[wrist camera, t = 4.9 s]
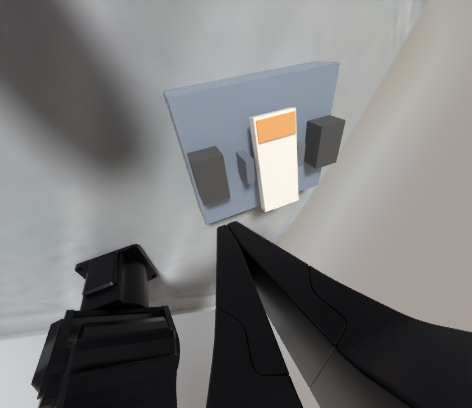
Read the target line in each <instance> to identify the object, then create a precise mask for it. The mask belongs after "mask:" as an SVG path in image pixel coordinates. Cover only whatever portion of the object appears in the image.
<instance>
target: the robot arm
mask: <svg viewBox="0 0 472 408" xmlns="http://www.w3.org/2000/svg"><path fill="white" fill-rule="evenodd" d="M75 271H76V272H77V273H79V274H80V275H81V276H82V277H83V278H84V279H85V284H84V289H83V293H82V295H83V299H82V304H81V308H80V311H74V310H67V311H66V314H65V317H64V319H60V320H59V321H57V322H55V323H52V324H51V326H50V329H49V332H48V336H47V339H46V342H45V345H44V348H43V351H42V354H41V357H40V359H39V362H38V365H37V368H36V371H35V374H34V377H33V380H32V383H31V385H32V386H33V387H34V388H35V389H36V390H37V391H38V397H37V399H40V402H39V406H38V408H177V397H176V376H177V369H178V364H179V358H180V343H179V338H178V334H177V331H176V328H175V325H174V323H173V319H172V317H171V314H170V311H169V308H168V306H162V307H149V306H148V281H149V280H152V279H154V278H156V277H157V272H156V270H155V269H154V267H153V266H152V264H151V263H150V261H149V260H148V258H147V257H146V255H145V254H144V253H143V251H142V250H141V248H140V247H139V246H138V245H136V244H134V245H131V246H128V247H125V248H122V249H119V250H116V251H113V252H110V253H108V254H105V255H102V256H99V257H96V258H93V259H90V260H88V261H85V262H82V263H79V264H77V265H76V267H75ZM215 311H216V313H215V339H214V349H213V358H212V367H211V374H210V381H209V389H208V397H207V404H206V408H303V406H302V404H301V401H300V399H299V397H298V395H297V393H296V390H295V387H294V385H293V382H292V380H291V377H290V376H289V372H288V369H287V367H286V364H285V362H284V359H283V356H282V354H281V351H280V349H279V346H278V343H277V341H276V338H275V336H274V333H273V330H272V328H271V325H270V323H269V320H268V317H269V319H270V320H271V322H272V324H273V326H274V327H275V329H276V331H277V333H278V334H279V336H280V338H281V340H282V341H283V343H284V345H285V347H286V348H287V350H288V352H289V353H290V355H291V357H292V359H293V360H294V362H295V364H296V365H297V367H298V369H299V371H300V373H301V374H302V376H303V378H304V380H305V381H306V383H307V385H308V387H310V390H311V392H312V394H313V395H314V397H315V399H316V401H317V402H318V404H319V406H320V408H472V332H468V331H463V330H458V329H453V328H449V327H443V326H439V325H434V324H430V323H427V322H423V321H420V320H417V319H414V318H411V317H409V316H407V315H404V314H402V313H400V312H398V311H396V310H394V309H392V308H389V307H388V306H385V305H383V304H381V303H379V302H377V301H375V300H373V299H371V298H369V297H367V296H365V295H363V294H361V293H359V292H357V291H355V290H353V289H351V288H349V287H347V286H345V285H343V284H341V283H339V282H337V281H335V280H334V279H332V278H330V277H328V276H327V275H325V274H323V273H321V272H320V271H318V270H316V269H315V268H313V267H312V266H309V267H308V264H306V263H305V262H303V261H301V260H300V259H298V258H296V257H295V256H293V255H292V254H290V253H288V252H286V251H285V250H283V249H282V248H280V247H278V246H277V245H275V244H274V243H272V242H270V241H269V240H267V239H265V238H264V237H262V236H260V235H259V234H257V233H255V232H254V231H252V230H250V229H249V228H247V227H245V226H244V225H242V224H241V223H239V222H237V221H234V222H231V223H229V224H227V225H223V226H220V227H218V228H217V260H216V310H215ZM266 314H267V315H268V317H267V315H266Z"/></svg>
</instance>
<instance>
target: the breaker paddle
mask: <svg viewBox="0 0 472 408" xmlns="http://www.w3.org/2000/svg"><path fill="white" fill-rule="evenodd" d="M249 122H250V129H251V136H252V144H253V151H254V158H255V165H256V172H257V180H258V187H259V194H260V201H261V208H262V209H263V210H264V211H265V212H267V211H270V210H273V209H275V208H278V207H281V206H284V205H286V204H289V203H292V202H295V201H297V200H298V165H297V129H296V108H286V109H282V110H278V111H274V112H270V113H266V114H262V115H258V116H254V117H250V118H249Z"/></svg>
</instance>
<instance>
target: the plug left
mask: <svg viewBox="0 0 472 408" xmlns="http://www.w3.org/2000/svg"><path fill="white" fill-rule="evenodd" d="M187 156H188V159H189V163H190V166H191V169H192V173H193V176H194V179H195V183H196V186H197V190H198V193H199V196H200V198H201V200H202V203H203V205H204V206H206V205H209V204H212V203H215V202H218V201H221V200H224V199H227V198H230V191H229V186H228V180H227V174H226V168H225V162H224V157H223V154H222V153H221V152H220V150H219V149H218V148H217V147H216V146H212V147H209V148H205V149H201V150H198V151H194V152H190V153H187Z"/></svg>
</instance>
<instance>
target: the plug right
mask: <svg viewBox="0 0 472 408" xmlns="http://www.w3.org/2000/svg"><path fill="white" fill-rule="evenodd" d="M344 125H345V120H343V119H340V118H337V117H334V116H330V115H327V116H324V117H320V118H316V119H312V120H309V121H307V127H306V136H305V144H306V146H305V155H304V162H306V163H307V164H309V165H310V166H312V167H313V168H315V169H317V168H320V167H323V166H326V165H329V164H332V163H335V162H336V160H337V156H338V151H339V147H340V143H341V138H342V134H343V129H344Z"/></svg>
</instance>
